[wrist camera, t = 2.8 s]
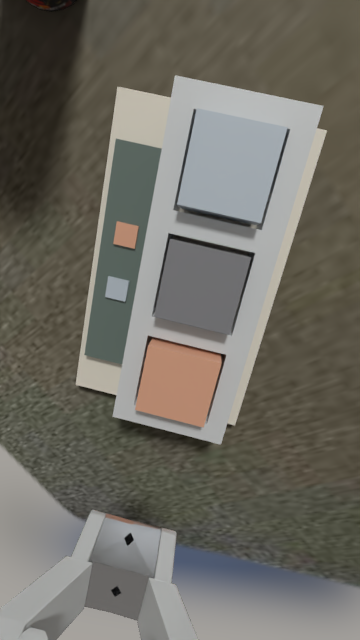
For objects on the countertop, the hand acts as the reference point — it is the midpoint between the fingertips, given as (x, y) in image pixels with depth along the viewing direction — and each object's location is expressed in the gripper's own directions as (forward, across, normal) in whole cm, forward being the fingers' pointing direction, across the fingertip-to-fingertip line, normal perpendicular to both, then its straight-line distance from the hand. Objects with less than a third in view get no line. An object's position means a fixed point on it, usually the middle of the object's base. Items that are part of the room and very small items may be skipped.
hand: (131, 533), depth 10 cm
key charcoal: (+13, -1, -7) cm, 15 cm away
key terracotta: (+13, -1, 0) cm, 13 cm away
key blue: (+13, -1, -14) cm, 19 cm away
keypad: (+16, +1, -7) cm, 17 cm away
